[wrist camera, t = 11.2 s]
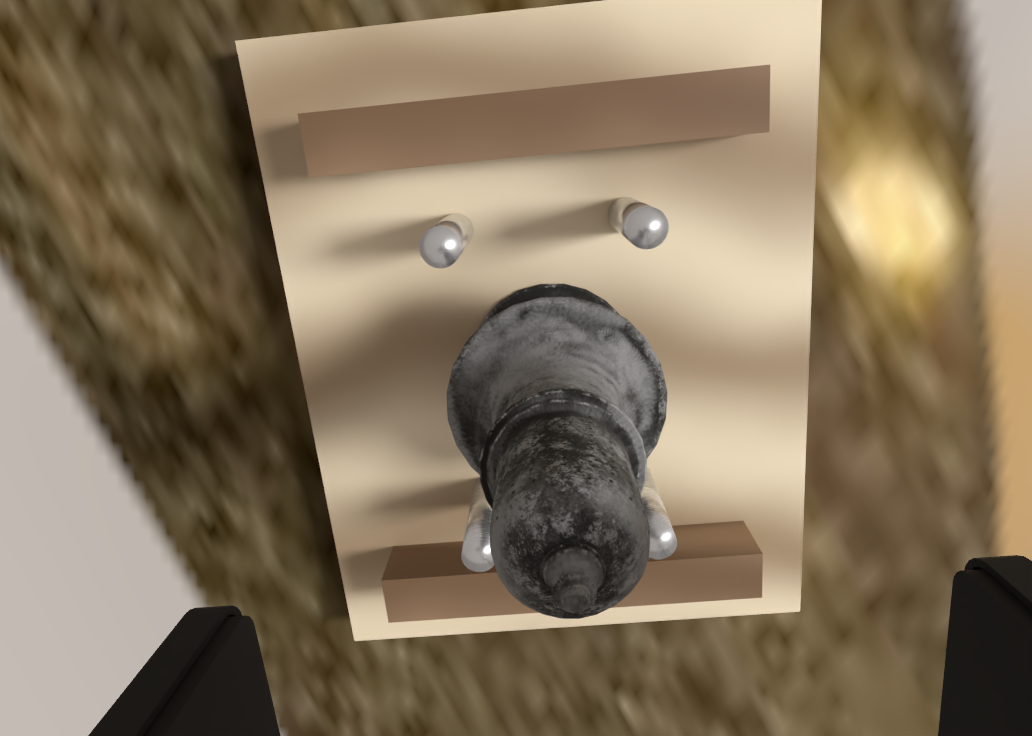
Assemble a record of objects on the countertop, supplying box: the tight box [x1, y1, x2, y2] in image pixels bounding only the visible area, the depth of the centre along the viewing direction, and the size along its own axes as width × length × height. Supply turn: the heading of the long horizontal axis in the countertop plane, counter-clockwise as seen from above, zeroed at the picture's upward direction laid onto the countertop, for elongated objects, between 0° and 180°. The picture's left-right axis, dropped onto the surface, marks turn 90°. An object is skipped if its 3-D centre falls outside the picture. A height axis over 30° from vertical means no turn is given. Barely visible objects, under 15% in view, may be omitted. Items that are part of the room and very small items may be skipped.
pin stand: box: [235, 0, 822, 641], centre depth 20 cm, size 20×16×6 cm
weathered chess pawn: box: [446, 284, 667, 619], centre depth 16 cm, size 6×6×12 cm
